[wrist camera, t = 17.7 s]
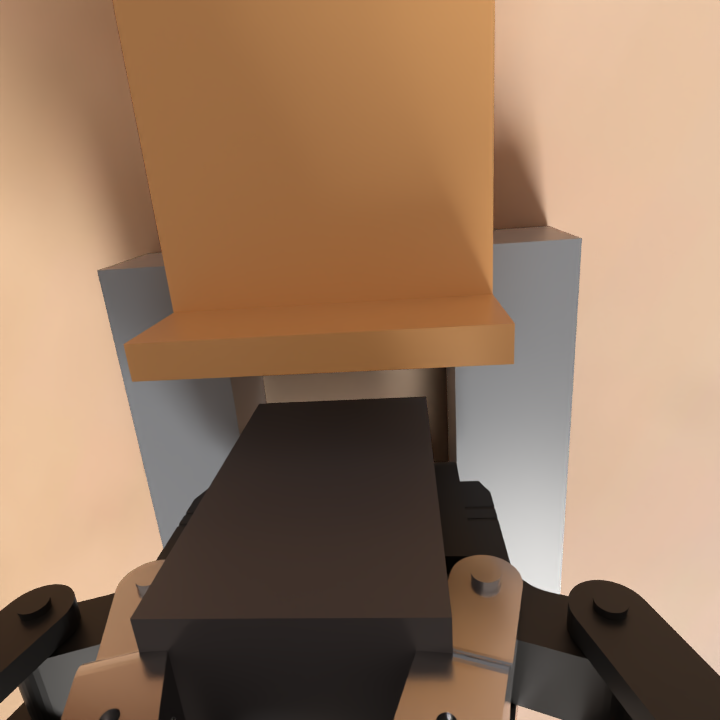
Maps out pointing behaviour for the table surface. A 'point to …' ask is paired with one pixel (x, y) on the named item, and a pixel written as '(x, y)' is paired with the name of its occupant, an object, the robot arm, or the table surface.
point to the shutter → (317, 184)
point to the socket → (464, 399)
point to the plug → (307, 568)
